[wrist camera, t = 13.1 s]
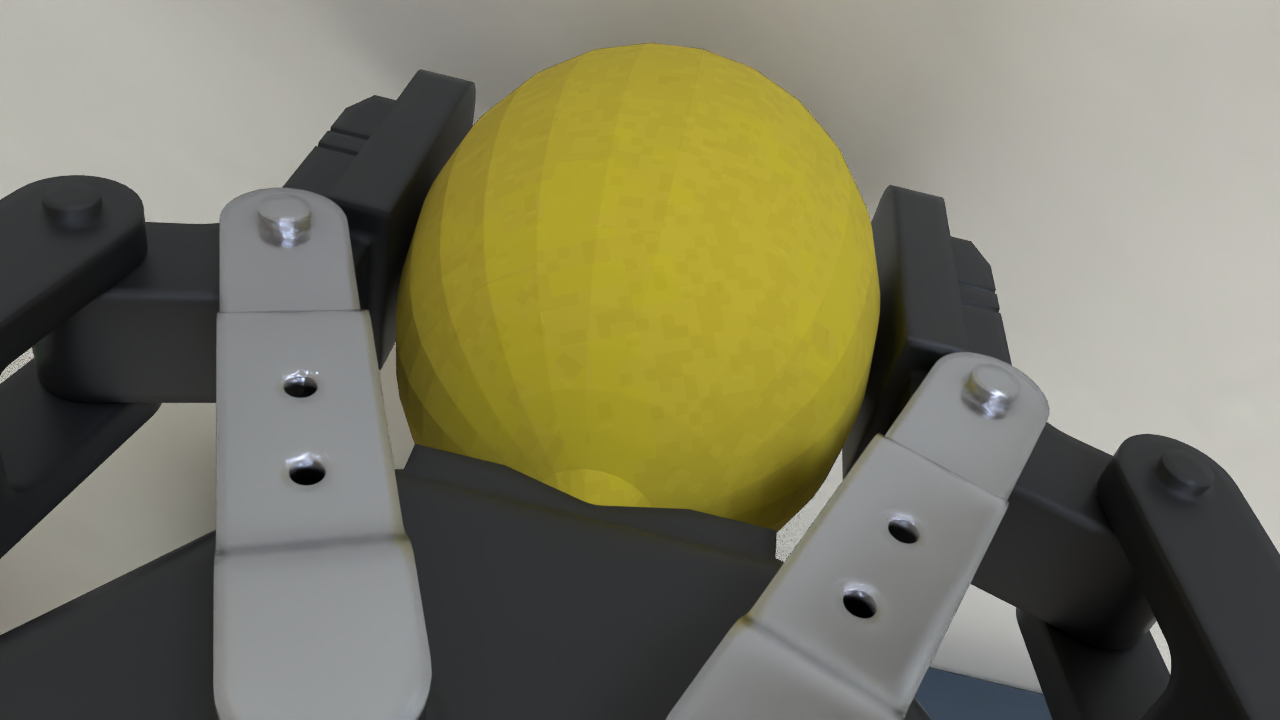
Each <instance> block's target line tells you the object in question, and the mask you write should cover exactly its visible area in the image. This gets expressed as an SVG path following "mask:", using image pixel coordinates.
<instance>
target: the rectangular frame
mask: <svg viewBox="0 0 1280 720" xmlns="http://www.w3.org/2000/svg"><path fill="white" fill-rule="evenodd" d="M915 697H916V699H917V700H918V701H919V703H920V704H921V705H922V707H923V708H924V709H925V711H926V712H927V713H928V715H929V716H930V717H931V719H932V720H1052V717H1051V714H1050V711H1049V708H1048V706H1047V703H1046V700H1045V697H1044V694H1039V693H1034V692H1030V691H1026V690H1022V689H1017V688H1013V687H1009V686H1005V685H1001V684H996V683H992V682H988V681H984V680H980V679H975V678H971V677H967V676H963V675H959V674H954V673H950V672H946V671H942V670H938V669H933V668H929V667H928V669H927V671H926V673H925V675H924V677H923V679H922V681H921V684H920V686H919V688H918V690H917V692H916V694H915Z"/></svg>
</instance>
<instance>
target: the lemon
mask: <svg viewBox="0 0 1280 720" xmlns="http://www.w3.org/2000/svg"><path fill="white" fill-rule="evenodd" d="M879 315H880V287H879V279H878V271H877V263H876V255H875V248H874V240H873V232H872V225H871V222H870V218H869V214H868V211H867V208H866V206H865V204H864V201H863V199H862V197H861V195H860V193H859V190H858V188H857V186H856V184H855V182H854V180H853V177H852V175H851V173H850V171H849V169H848V167H847V164H846V162H845V160H844V158H843V156H842V154H841V151H840V149H839V148H838V147H837V145H836V144H835V143H834V141H833V140H832V139H831V138H830V137H829V135H828V134H827V133H826V132H825V131H824V129H823V128H822V127H821V126H820V125H819V124H818V122H817V121H816V120H815V119H814V118H813V116H812V115H811V114H810V113H809V112H808V111H807V109H806V108H805V107H804V106H803V105H802V103H801V102H800V101H799V100H798V99H796V98H795V97H793V96H792V95H790V94H789V93H788V92H786V91H785V90H783V89H782V88H781V87H779V86H778V85H776V84H775V83H773V82H772V81H771V80H769V79H768V78H766V77H765V76H764V75H762V74H761V73H759V72H758V71H756V70H755V69H753V68H751V67H749V66H746V65H743V64H741V63H738V62H735V61H733V60H730V59H728V58H725V57H722V56H720V55H717V54H714V53H712V52H709V51H706V50H704V49H697V48H689V47H681V46H673V45H665V44H656V43H645V44H637V45H628V46H620V47H611V48H603V49H595V50H592V51H590V52H587V53H585V54H582V55H580V56H577V57H575V58H572V59H570V60H567V61H565V62H562V63H560V64H557V65H555V66H552V67H550V68H547V69H545V70H543V71H541V72H539V73H537V74H535V75H534V76H533V77H531V78H530V79H529V80H527V81H526V82H525V83H523V84H522V85H521V86H520V87H518V88H517V89H516V90H514V91H513V92H512V93H510V94H509V95H508V96H507V97H505V98H504V99H503V100H501V101H500V102H499V103H497V104H496V105H495V106H494V107H492V108H491V109H490V110H489V111H487V112H486V113H485V114H484V115H483V116H482V117H481V118H480V119H479V120H478V121H477V122H476V124H475V125H474V126H473V127H472V128H471V130H470V131H469V132H468V134H467V135H466V136H465V138H464V139H463V141H462V142H461V143H460V145H459V146H458V147H457V149H456V150H455V152H454V153H453V154H452V156H451V157H450V159H449V160H448V161H447V163H446V164H445V165H444V167H443V168H442V170H441V171H440V173H439V174H438V176H437V177H436V179H435V180H434V182H433V183H432V185H431V188H430V190H429V192H428V194H427V196H426V198H425V200H424V203H423V206H422V209H421V212H420V216H419V219H418V222H417V225H416V228H415V231H414V234H413V237H412V241H411V244H410V247H409V250H408V253H407V256H406V259H405V263H404V266H403V270H402V274H401V279H400V284H399V290H398V298H397V307H396V376H397V383H398V389H399V396H400V400H401V403H402V406H403V409H404V413H405V416H406V419H407V422H408V425H409V428H410V432H411V435H412V438H413V440H414V443H415V444H418V445H423V446H427V447H431V448H435V449H439V450H444V451H448V452H452V453H456V454H460V455H465V456H469V457H473V458H477V459H481V460H485V461H490V462H494V463H498V464H502V465H505V466H508V467H510V468H512V469H514V470H516V471H519V472H521V473H523V474H525V475H527V476H529V477H532V478H534V479H536V480H538V481H540V482H543V483H545V484H547V485H549V486H551V487H554V488H556V489H558V490H560V491H562V492H564V493H567V494H569V495H571V496H573V497H575V498H578V499H580V500H582V501H584V502H587V503H590V504H594V505H602V506H627V507H652V508H677V509H690V510H695V511H699V512H703V513H707V514H711V515H716V516H720V517H724V518H728V519H732V520H736V521H741V522H745V523H749V524H753V525H757V526H762V527H766V528H770V529H774V530H777V532H778V531H779V530H780V529H781V528H782V527H783V526H784V525H785V524H786V523H787V522H789V521H790V520H791V519H792V518H793V517H794V516H795V515H796V514H797V513H798V512H799V511H800V510H801V509H802V508H803V507H804V506H805V505H806V504H807V503H808V502H809V501H810V500H811V499H812V498H813V497H814V495H815V494H816V492H817V491H818V490H819V488H820V487H821V485H822V484H823V482H824V481H825V479H826V478H827V476H828V474H829V472H830V470H831V468H832V466H833V464H834V463H835V461H836V459H837V457H838V455H839V453H840V451H841V449H842V448H843V446H844V444H845V442H846V440H847V438H848V436H849V434H850V432H851V430H852V428H853V425H854V423H855V421H856V419H857V416H858V413H859V410H860V408H861V405H862V402H863V399H864V395H865V391H866V387H867V383H868V379H869V373H870V368H871V362H872V357H873V351H874V346H875V340H876V335H877V328H878V322H879Z"/></svg>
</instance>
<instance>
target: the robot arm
mask: <svg viewBox="0 0 1280 720" xmlns="http://www.w3.org/2000/svg"><path fill="white" fill-rule="evenodd" d="M475 94H476V93H475V84H474V83H473V82H471V81H466V80H462V79H458V78H454V77H450V76H446V75H442V74H438V73H434V72H430V71H425V70H421V69H420V70H419V71H418V72H417V73H416V74H415V76H414V77H413V78H412V80H411V81H410V83H409V84H408V85H407V87H406V88H405V89H404V91H403V92H402V94H401V95H400V96H399V98H398V99H397V100H392V99H388V98H384V97H380V96H376V95H374V96H372V97H370V98H367V99H365V100H363V101H361V102H359V103H356V104H354V105H352V106H350V107H348V108H346V109H345V110H344V111H343V113H342V114H341V115H340V116H339V118H338V119H337V120H336V121H335V123H334V124H333V125H332V126H331V130H330V131H327V133H326V134H325V135H324V136H323V138H322V139H321V140H320V141H319V144H318V147H317V146H315V147H314V149H313V150H312V151H311V152H310V154H309V155H308V156H307V157H306V159H305V160H304V161H303V162H302V164H301V165H300V166H299V167H298V169H297V170H296V171H295V172H294V174H293V175H292V176H291V177H290V179H289V180H288V181H287V182H286V184H285V185H284V186H283V187H282V188H267V189H260V190H256V191H251V192H248V193H245V194H243V195H241V196H239V197H237V198H235V199H233V200H232V201H231V202H229V203H228V204H227V205H226V206H225V207H224V208H223V210H222V212H221V215H220V223H214V224H180V223H157V222H145V216H144V207H143V203H142V200H141V199H140V197H139V196H138V195H137V194H136V193H135V192H134V191H133V190H132V189H130V188H129V187H127V186H125V185H123V184H121V183H118V182H116V181H113V180H109V179H106V178H100V177H95V176H84V175H71V176H59V177H52V178H47V179H43V180H39V181H36V182H33V183H30V184H28V185H26V186H24V187H22V188H20V189H18V190H16V191H14V192H13V193H11V194H9V195H8V196H6V197H4V198H3V199H1V200H0V374H1V373H2V372H3V370H4V369H5V368H6V367H7V366H8V365H9V364H10V363H11V362H13V361H14V360H15V359H17V358H18V357H19V356H21V355H22V354H23V353H24V352H26V351H27V350H28V349H30V348H31V347H32V349H33V354H34V358H33V359H32V360H31V361H29V362H28V363H27V364H26V365H24V366H23V367H22V368H20V369H19V370H18V371H16V372H15V373H14V374H13V375H11V376H10V377H9V378H7V379H6V380H5V381H4V382H2V383H1V384H0V559H1V558H2V557H3V556H4V555H5V554H6V553H7V552H8V551H9V550H10V549H11V548H12V547H13V546H14V545H15V544H16V543H18V542H19V541H20V540H21V539H22V538H23V537H24V536H25V535H26V534H27V533H28V532H29V531H30V530H31V529H32V528H34V527H35V526H36V525H37V524H38V523H39V522H40V521H41V520H42V519H43V518H44V517H45V516H46V515H47V514H48V513H50V512H51V511H52V510H53V509H54V508H55V507H56V506H57V505H58V504H59V503H60V502H61V501H62V500H63V499H64V498H66V497H67V496H68V495H69V494H70V493H71V492H72V491H73V490H74V489H75V488H76V487H77V486H78V485H79V484H80V483H82V482H83V481H84V480H85V479H86V478H87V477H88V476H89V475H90V474H91V473H92V472H93V471H94V470H95V469H96V468H98V467H99V466H100V465H101V464H102V463H103V462H104V461H105V460H106V459H107V458H108V457H109V456H110V455H111V454H112V453H114V452H115V451H116V450H117V449H118V448H119V447H120V446H121V445H122V444H123V443H124V442H125V441H126V440H127V439H128V438H130V437H131V436H132V435H133V434H134V433H135V432H136V431H137V430H138V429H139V428H140V427H141V426H142V425H143V424H144V423H146V422H147V421H148V420H149V419H150V418H151V417H152V416H153V415H154V414H155V413H156V411H157V410H158V409H159V407H160V405H161V404H162V403H216V530H214V531H212V532H210V533H208V534H206V535H204V536H202V537H200V538H198V539H196V540H194V541H192V542H190V543H188V544H186V545H184V546H181V547H179V548H177V549H175V550H173V551H171V552H169V553H167V554H165V555H163V556H161V557H159V558H157V559H155V560H153V561H151V562H149V563H147V564H145V565H143V566H141V567H139V568H137V569H135V570H133V571H131V572H129V573H126V574H124V575H122V576H120V577H118V578H116V579H114V580H112V581H110V582H108V583H106V584H104V585H102V586H100V587H98V588H96V589H94V590H92V591H90V592H88V593H86V594H84V595H82V596H80V597H78V598H76V599H74V600H71V601H69V602H67V603H65V604H63V605H61V606H59V607H57V608H55V609H53V610H51V611H49V612H47V613H45V614H43V615H41V616H39V617H37V618H35V619H33V620H31V621H29V622H27V623H25V624H23V625H21V626H18V627H16V628H14V629H12V630H10V631H8V632H6V633H4V634H2V635H0V720H932V719H931V717H930V716H929V715H928V713H927V712H926V711H925V709H924V708H923V707H922V705H921V704H920V703H919V701H918V700H917V699H916V697H915V694H916V692H917V690H918V688H919V686H920V684H921V681H922V679H923V677H924V675H925V673H926V671H927V669H928V667H929V665H930V663H931V661H932V659H933V657H934V655H935V653H936V651H937V649H938V647H939V645H940V643H941V641H942V639H943V637H944V635H945V633H946V631H947V629H948V627H949V625H950V623H951V621H952V619H953V617H954V615H955V613H956V611H957V609H958V607H959V605H960V603H961V601H962V599H963V597H964V595H965V593H966V591H967V589H968V587H969V585H970V584H972V585H974V586H976V587H978V588H980V589H982V590H984V591H986V592H988V593H990V594H992V595H994V596H996V597H997V598H999V599H1001V600H1003V601H1005V602H1007V603H1009V604H1011V605H1013V606H1015V607H1016V617H1017V621H1018V625H1019V627H1020V630H1021V633H1022V636H1023V639H1024V641H1025V644H1026V647H1027V650H1028V653H1029V655H1030V658H1031V661H1032V664H1033V667H1034V669H1035V672H1036V675H1037V678H1038V680H1039V683H1040V686H1041V689H1042V692H1043V694H1044V697H1045V700H1046V703H1047V706H1048V708H1049V711H1050V714H1051V717H1052V720H1280V554H1279V553H1278V551H1277V549H1276V548H1275V546H1274V545H1273V543H1272V541H1271V540H1270V538H1269V536H1268V535H1267V533H1266V532H1265V530H1264V528H1263V527H1262V525H1261V523H1260V522H1259V520H1258V519H1257V517H1256V515H1255V514H1254V512H1253V511H1252V509H1251V507H1250V506H1249V504H1248V502H1247V501H1246V499H1245V498H1244V496H1243V494H1242V493H1241V491H1240V489H1239V488H1238V486H1237V485H1236V483H1235V482H1234V481H1233V479H1232V478H1231V477H1230V475H1229V474H1228V473H1227V472H1226V471H1225V470H1224V469H1223V468H1222V467H1221V466H1220V465H1218V464H1217V463H1216V462H1215V461H1214V460H1212V459H1211V458H1210V457H1208V456H1207V455H1205V454H1204V453H1202V452H1200V451H1199V450H1197V449H1195V448H1193V447H1191V446H1189V445H1187V444H1185V443H1183V442H1180V441H1178V440H1175V439H1172V438H1169V437H1165V436H1160V435H1153V434H1141V435H1135V436H1132V437H1130V438H1128V439H1126V440H1125V441H1124V442H1123V443H1122V444H1121V445H1120V447H1119V448H1118V450H1117V451H1116V453H1115V454H1114V456H1112V455H1109V454H1107V453H1105V452H1103V451H1101V450H1099V449H1096V448H1094V447H1092V446H1090V445H1088V444H1086V443H1083V442H1081V441H1079V440H1077V439H1075V438H1073V437H1071V436H1069V435H1067V434H1065V433H1063V432H1061V431H1060V430H1058V429H1056V428H1055V427H1053V426H1052V425H1050V424H1049V423H1048V422H1047V420H1048V417H1049V405H1048V401H1047V399H1046V397H1045V395H1044V394H1043V392H1042V391H1041V389H1040V388H1039V387H1038V386H1037V385H1036V384H1035V383H1034V382H1033V380H1031V379H1030V378H1029V377H1028V376H1027V375H1025V374H1024V373H1023V372H1021V371H1020V370H1018V369H1017V368H1015V367H1013V366H1012V364H1011V359H1010V355H1009V350H1008V345H1007V341H1006V336H1005V331H1004V327H1003V322H1002V317H1001V314H1000V313H999V309H1000V308H999V303H998V298H997V294H994V293H995V290H996V289H995V284H994V280H993V275H992V270H991V266H990V265H989V263H988V262H987V261H986V260H985V258H984V257H983V256H982V255H981V253H980V252H979V251H978V250H977V248H976V247H975V246H974V244H973V243H972V242H971V241H967V240H963V239H959V238H955V237H951V236H950V232H949V226H948V220H947V214H946V208H945V202H944V199H943V198H942V197H938V196H934V195H930V194H925V193H921V192H917V191H913V190H909V189H905V188H901V187H897V186H893V185H889V186H888V187H887V188H886V190H885V192H884V193H883V195H882V198H881V200H880V202H879V205H878V207H877V210H876V212H875V215H874V218H873V220H872V223H871V225H872V232H873V240H874V248H875V255H876V263H877V271H878V279H879V287H880V315H879V322H878V328H877V335H876V340H875V346H874V351H873V357H872V362H871V368H870V373H869V379H868V383H867V387H866V391H865V395H864V399H863V402H862V405H861V408H860V410H859V413H858V416H857V419H856V421H855V423H854V425H853V428H852V430H851V432H850V434H849V436H848V438H847V440H846V442H845V444H844V446H843V448H842V460H843V481H842V483H841V484H840V485H839V487H838V488H837V490H836V491H835V492H834V494H833V495H832V497H831V498H830V499H829V501H828V502H827V504H826V505H825V506H824V508H823V509H822V511H821V512H820V513H819V515H818V516H817V518H816V519H815V520H814V522H813V523H812V525H811V526H810V527H809V529H808V530H807V532H806V533H805V534H804V536H803V537H802V539H801V540H800V541H799V543H798V544H797V546H796V547H795V548H794V550H793V551H792V553H791V554H790V555H789V557H788V558H787V560H786V561H785V562H782V561H780V560H778V559H776V558H775V553H776V533H777V530H774V529H770V528H766V527H762V526H757V525H753V524H749V523H745V522H741V521H736V520H732V519H728V518H724V517H720V516H716V515H711V514H707V513H703V512H699V511H695V510H690V509H677V508H652V507H627V506H602V505H594V504H590V503H587V502H584V501H582V500H580V499H578V498H575V497H573V496H571V495H569V494H567V493H564V492H562V491H560V490H558V489H556V488H554V487H551V486H549V485H547V484H545V483H543V482H540V481H538V480H536V479H534V478H532V477H529V476H527V475H525V474H523V473H521V472H519V471H516V470H514V469H512V468H510V467H508V466H505V465H502V464H498V463H494V462H490V461H485V460H481V459H477V458H473V457H469V456H465V455H460V454H456V453H452V452H448V451H444V450H439V449H435V448H431V447H427V446H423V445H418V444H415V445H414V448H413V450H412V452H411V454H410V457H409V459H408V461H407V464H406V466H405V468H404V469H394V464H393V458H392V451H391V445H390V438H389V432H388V426H387V419H386V413H385V407H384V400H383V394H382V388H381V381H380V375H379V370H381V369H382V367H383V365H384V363H385V361H386V359H387V357H388V355H389V353H390V351H391V349H392V347H393V345H394V344H395V342H396V307H397V298H398V290H399V284H400V279H401V274H402V270H403V266H404V263H405V259H406V256H407V253H408V250H409V247H410V244H411V241H412V237H413V234H414V231H415V228H416V225H417V222H418V219H419V216H420V212H421V209H422V206H423V203H424V200H425V198H426V196H427V194H428V192H429V190H430V188H431V185H432V183H433V182H434V180H435V179H436V177H437V176H438V174H439V173H440V171H441V170H442V168H443V167H444V165H445V164H446V163H447V161H448V160H449V159H450V157H451V156H452V154H453V153H454V152H455V150H456V149H457V147H458V146H459V145H460V143H461V142H462V141H463V139H464V138H465V136H466V135H467V134H468V132H469V131H470V130H471V128H472V126H473V117H474V107H475ZM1156 621H1157V622H1158V624H1159V626H1160V628H1161V630H1162V633H1163V635H1164V637H1165V639H1166V641H1167V644H1168V646H1169V650H1170V655H1171V675H1170V673H1169V671H1168V669H1167V667H1166V665H1165V663H1164V661H1163V658H1162V656H1161V654H1160V652H1159V650H1158V648H1157V646H1156V643H1155V641H1154V639H1153V637H1152V635H1151V633H1150V631H1149V630H1150V628H1151V627H1152V626H1153V625H1154V623H1155V622H1156Z"/></svg>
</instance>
